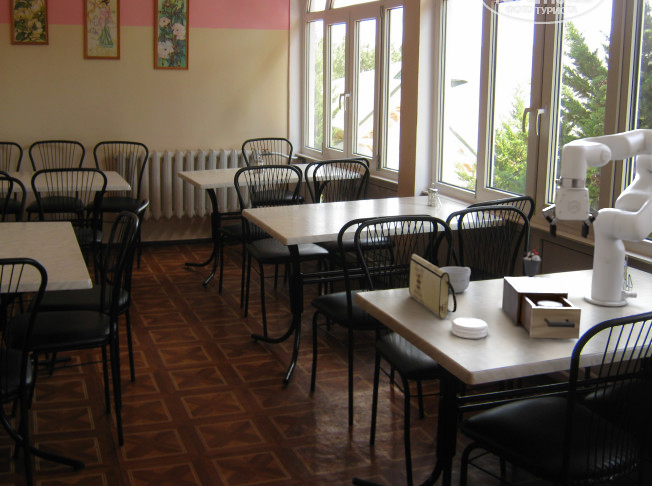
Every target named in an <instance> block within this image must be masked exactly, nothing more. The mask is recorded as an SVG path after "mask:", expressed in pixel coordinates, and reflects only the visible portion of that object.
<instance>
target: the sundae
mask: <svg viewBox="0 0 652 486" xmlns="http://www.w3.org/2000/svg"><path fill="white" fill-rule="evenodd" d="M538 249H540V246H539V245H537V246H536V248H535V249H532V251H531V250H530V251H528V252H526V251H524V253H523V255H524V257H523V256H522V258H521V259H522V260H523V264H524V272H525V274H526V276H527V277H528V278H535V276H536V275H538V271H539V266H540V263H541V262H542V261H543V259H542V258H541V257H540V256H539V255H538V254H539V253H538V252H537V251H538Z"/></svg>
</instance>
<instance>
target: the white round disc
mask: <svg viewBox="0 0 652 486" xmlns="http://www.w3.org/2000/svg"><path fill="white" fill-rule="evenodd" d="M451 333H452V335H454V336H456V337H458V338H462V339H469V340H477V339H478V340H479V339H482V338H485V337H486V336H487V335H488V323H487V322H486V321H485V320H482V319H480V318H476V317H468V316H467V317H464V316H463V317H456V318H454V319H453V320H452V321H451Z"/></svg>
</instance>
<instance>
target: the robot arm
mask: <svg viewBox="0 0 652 486" xmlns="http://www.w3.org/2000/svg"><path fill="white" fill-rule="evenodd" d="M633 157H636V158H635V177H634V180H633V181H632V182H631V183H630V184H629V185H628V186H627V188H626V189H625V190H624V191H622V193H620V195H619V196H618V197H617V198H616V201H615V203H614V208H611V207H610V208H609V207H608V208H606V207H605V208H602V209H600V210H597V209H594V208H593V207H592V206H590V194H589V193H590V191H589V188H587V187H586V186H587V185H586V184H587V170H588V167H592V168H600V167H604V166H606V165H607V164H608V163H609V162H610V161H622V160H626V159H630V158H633ZM554 182H555V183H554V184H557V185H558V186H557V188H556V190H555V195H554V198H553V204H552V205H551V206H549V207H546V208H544V209H542V211H541V213H542V215H543V217H544V219H545V220H546V221H547V222H548V223H549V233H548V234H549V235H550V236H551V237H552V238H554V239H555V238H556V237H557V227H558V226H557V225H556V224H557V223H558V222H559V221H561V220H562V221H582V222H583V223H582V224H581V234H580V235H581V237H582V238H583V239H587V238H588V236H589V234H590V226H591V225H592V226H593V234H594V250H593V261H592V262H593V263H592V265H593V266H592V273H591V274H592V276H591V286H590V288H591V289H590V293H588V294H586V295H585V298H584V299H585V301H587V302H588V303H591V304H593V305H597V306H603V307H622V306H625V305H626V304H627V300H626V299H627V298H630V299H636V298H637V297H638V293H637V292H636V291H630V290H625V289H623V284H624V275H625V273H624V272H625V261H626V248H625V244H624V242H623V241H627V242H631V243H640V242H642V241H644V240H645V239H646V238H648V237H649V236H650V234H651V233H652V128H650V129H649V128H639V129H638V128H637V129H634V130H630V131H625V132H620V133H616V134H608V135H607V134H606V135H601V136H591V137H584V138H580V139H575V140H572V141H570V142H569V143H566V144H564V145H563V146H562V149H561V161H560V177H559V178H558V179H555V181H554ZM551 212H552V217H550V214H549V213H551ZM590 213H591V216H590Z"/></svg>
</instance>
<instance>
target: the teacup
mask: <svg viewBox="0 0 652 486" xmlns="http://www.w3.org/2000/svg"><path fill="white" fill-rule="evenodd" d="M439 268H440V269H441V270H443V271H445V272H447V273H448V274H449V278H450V283H451V285H452V286H453V289H454V292H455V294H458V293H464V292H465V290H467V289H468V287H469V285H470V276H471V274H472V273H471V272H472V271H471V268H470V267H468V266H464V267H463V266H443V267H439ZM449 294H452V293H451V290H450V291H449Z"/></svg>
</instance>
